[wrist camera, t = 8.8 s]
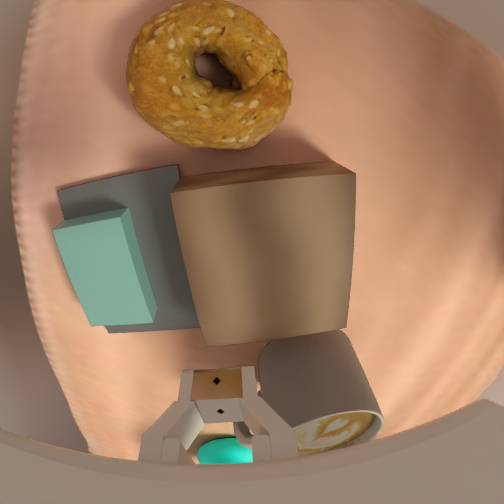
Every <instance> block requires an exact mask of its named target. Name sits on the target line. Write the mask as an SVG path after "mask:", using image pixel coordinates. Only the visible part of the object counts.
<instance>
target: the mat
mask: <svg viewBox="0 0 504 504" xmlns="http://www.w3.org/2000/svg"><path fill="white" fill-rule="evenodd" d="M179 179H180V173H179V167H178V164H176V165H170V166H164V167H159V168H153V169H148V170H143V171H138V172H133V173H128V174H123V175H118V176H114V177H109V178H105V179H101V180H96V181H92V182H88V183H84V184H80V185H76V186H72V187H68V188H65V189H61V190H59V191H57V192H58V196H59V200H60V204H61V207H62V211H63V215H64V218H65V220H69V219H74V218H78V217H83V216H88V215H93V214H98V213H103V212H108V211H113V210H118V209H124V208H129V211H130V215H131V219H132V223H133V227H134V231H135V235H136V238H137V242H138V246H139V249H140V253H141V256H142V260H143V263H144V267H145V270H146V273H147V277H148V280H149V283H150V286H151V289H152V292H153V296H154V299H155V302H156V305H157V311H156V315H155V318H154V322H153V323H142V324H126V325H107V326H106V329H107V331H108V333H126V332H145V331H161V330H174V329H187V328H198V327H200V324H199V320H198V316H197V313H196V309H195V305H194V301H193V297H192V293H191V289H190V285H189V280H188V276H187V272H186V268H185V263H184V259H183V254H182V250H181V245H180V241H179V236H178V231H177V227H176V222H175V217H174V212H173V207H172V201H171V196H170V192H171V191H172V189H173V188H174V186H175V185H176V183H177V182H178V180H179Z"/></svg>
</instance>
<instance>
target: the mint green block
mask: <svg viewBox="0 0 504 504" xmlns="http://www.w3.org/2000/svg"><path fill="white" fill-rule="evenodd" d="M52 232H53V235H54V238H55V241H56V243H57V246H58V249H59V252H60V255H61V257H62V260H63V263H64V265H65V268H66V271H67V273H68V276H69V278H70V281H71V283H72V285H73V288H74V290H75V292H76V295H77V297H78V299H79V302H80V304H81V306H82V308H83V310H84V313H85V315H86V317H87V319H88V321H89V323H90V325H91V326H107V325H126V324H142V323H153V322H154V318H155V315H156V311H157V305H156V302H155V299H154V296H153V292H152V289H151V286H150V283H149V280H148V277H147V273H146V270H145V267H144V263H143V260H142V256H141V253H140V249H139V246H138V242H137V238H136V235H135V231H134V227H133V223H132V219H131V215H130V211H129V208H124V209H118V210H113V211H108V212H103V213H98V214H93V215H88V216H83V217H78V218H74V219H69V220H65V221H63V222H62V223H60V224H59V225H58V226H57V227H56V228H55V229H53V230H52Z"/></svg>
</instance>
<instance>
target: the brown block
mask: <svg viewBox="0 0 504 504" xmlns="http://www.w3.org/2000/svg"><path fill="white" fill-rule="evenodd" d="M170 196H171V201H172V207H173V212H174V217H175V222H176V227H177V231H178V236H179V241H180V245H181V250H182V254H183V259H184V263H185V268H186V272H187V276H188V280H189V285H190V289H191V293H192V297H193V301H194V305H195V309H196V313H197V316H198V320H199V324H200V328H201V331H202V335H203V339H204V342H205V346H206V347H211V346H221V345H231V344H241V343H249V342H258V341H266V340H273V339H280V338H287V337H294V336H301V335H307V334H313V333H319V332H325V331H331V330H336V329H342V328H346V325H347V317H348V308H349V299H350V288H351V277H352V264H353V250H354V231H355V203H356V173H354V172H352V171H350V170H349V169H347V168H345V167H343V166H341V165H340V164H338V163H336V162H320V163H305V164H292V165H280V166H270V167H260V168H250V169H241V170H233V171H225V172H217V173H210V174H203V175H196V176H189V177H183V178H180V179H179V180H178V182H177V183H176V185H175V186H174V188H173V189H172V191H171V192H170Z"/></svg>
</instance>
